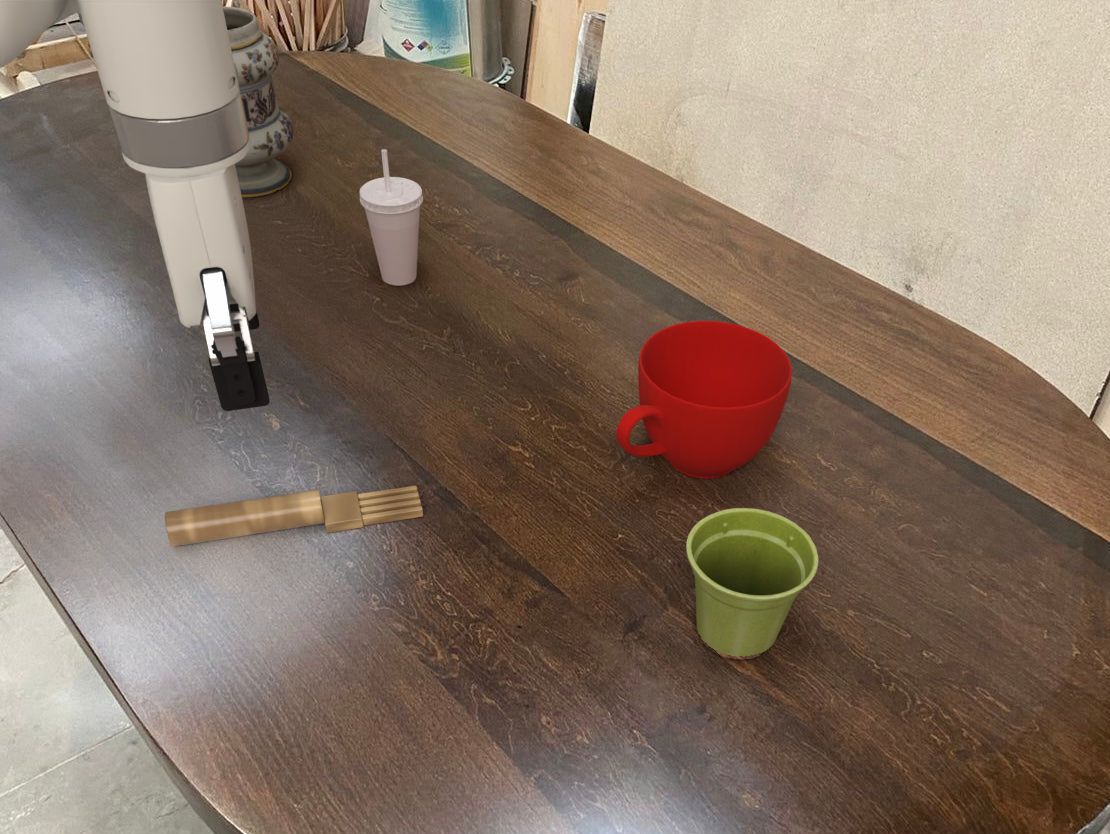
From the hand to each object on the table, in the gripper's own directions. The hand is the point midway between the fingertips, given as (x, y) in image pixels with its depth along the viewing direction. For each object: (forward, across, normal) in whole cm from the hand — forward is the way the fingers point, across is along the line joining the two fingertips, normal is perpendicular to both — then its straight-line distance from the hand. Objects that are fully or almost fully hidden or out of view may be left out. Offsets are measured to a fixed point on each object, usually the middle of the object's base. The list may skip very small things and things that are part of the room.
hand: (242, 366), depth 77 cm
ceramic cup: (+16, 0, +35) cm, 39 cm away
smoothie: (+16, -37, +16) cm, 43 cm away
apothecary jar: (+16, -63, +2) cm, 65 cm away
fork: (+16, 0, +1) cm, 16 cm away
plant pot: (+16, +20, +32) cm, 41 cm away
